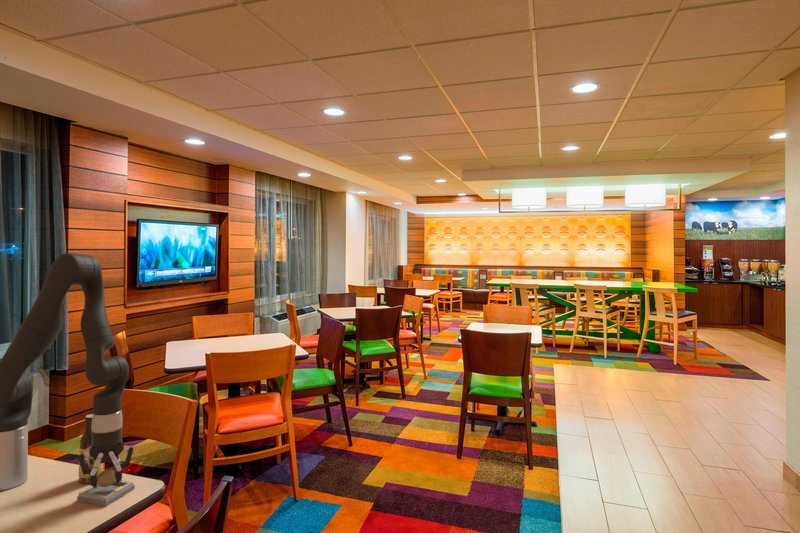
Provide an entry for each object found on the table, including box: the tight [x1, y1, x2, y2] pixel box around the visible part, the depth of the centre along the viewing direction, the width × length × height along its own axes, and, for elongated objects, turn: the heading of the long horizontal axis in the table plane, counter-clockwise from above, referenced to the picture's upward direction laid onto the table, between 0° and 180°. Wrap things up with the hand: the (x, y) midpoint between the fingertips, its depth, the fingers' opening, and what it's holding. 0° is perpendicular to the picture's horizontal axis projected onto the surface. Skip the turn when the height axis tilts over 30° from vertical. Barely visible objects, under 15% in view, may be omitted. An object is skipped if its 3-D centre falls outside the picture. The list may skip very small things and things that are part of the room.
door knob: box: [96, 467, 117, 487], centre depth 134 cm, size 5×5×5 cm
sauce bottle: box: [78, 413, 104, 484], centre depth 142 cm, size 7×6×20 cm
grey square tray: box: [76, 479, 136, 507], centre depth 134 cm, size 10×10×2 cm
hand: (106, 484), depth 134 cm, fingers closed on door knob, 5 cm apart
